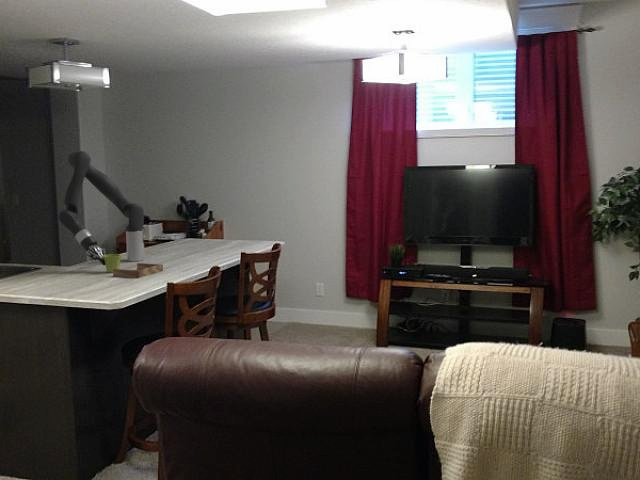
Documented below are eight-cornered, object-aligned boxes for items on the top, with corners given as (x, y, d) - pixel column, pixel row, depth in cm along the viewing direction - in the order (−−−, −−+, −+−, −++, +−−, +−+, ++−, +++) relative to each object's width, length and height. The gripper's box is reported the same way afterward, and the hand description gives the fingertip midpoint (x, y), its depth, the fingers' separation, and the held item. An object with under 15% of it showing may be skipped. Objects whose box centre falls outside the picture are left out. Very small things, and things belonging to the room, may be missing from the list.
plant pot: (105, 274, 313) (104, 257, 311) (101, 271, 321) (101, 254, 319) (124, 272, 317) (123, 255, 316) (120, 269, 325) (119, 253, 324)
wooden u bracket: (138, 269, 326) (138, 263, 325) (162, 271, 320) (162, 264, 320) (113, 276, 307) (112, 269, 306) (138, 278, 301) (138, 271, 301)
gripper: (80, 236, 315) (101, 261, 312) (98, 233, 327) (118, 257, 325) (73, 246, 318) (93, 270, 315) (91, 243, 330) (110, 267, 327)
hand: (105, 264), depth 320 cm, fingers closed
